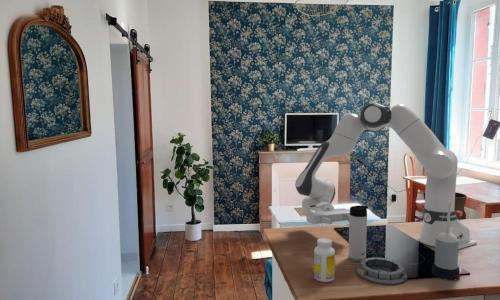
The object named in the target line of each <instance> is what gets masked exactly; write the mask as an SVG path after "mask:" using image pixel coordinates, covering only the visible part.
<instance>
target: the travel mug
mask: <svg viewBox="0 0 500 300" xmlns="http://www.w3.org/2000/svg"><path fill="white" fill-rule="evenodd" d="M349 209H350V216H349V222H348V223H349V225H348V227H349V228H348V259H349V260H350V261H352V260H353V262H358V263H361V261H362V260H364V259H366V258H367V233H368V229H367V228H368V209H369V206H368V205H353V206H350V208H349Z"/></svg>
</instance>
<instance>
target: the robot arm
mask: <svg viewBox="0 0 500 300" xmlns="http://www.w3.org/2000/svg"><path fill="white" fill-rule="evenodd" d="M386 127H388V128H391V129H392V130H393V131H394V132H395V133H396V135H397V136H398V137H399V138H400V139H401V140H402V141H403V142H404V144H405V145H406V147H408V149H410V151H411V152H412V154H413V155H414V156H415V158H416V159H417V160H418V162H419V163H420V165H421V166H422V167H423V169H424V170H425V171H426V182H425V183H426V184H425V188H424V189H425V190H424V194H425V195H424V207H423V209H422V216H423V218H422V219H423V220H422V224H421V230H420V233H419V237H418V240H419V241H420V243H422V244H424V245H427V246H431V247H435V244H436V237H437V235H438V234H440V233H442V232H445V231H446V228H447V214H448V205H449V201H450V202H451V213H450V229H449V230H450V232H451V233H452V234H454V235H455V236H456V237H457V239H458V242H459V246H458V250H461V249H464V248H467V247H470V246H474V245H477V241H476V240H475V239H473V238H471V233H470V229H469V227H468V226H467V225H465V224H464V223H463V222H462V221H461V220H460V221H459V220H458V218H457V215H458V216H461V217H462V216H463V213H464V212H463V213H462V212H461V211H455V210H454V206H455V192H456V188H457V187H456V186H457V174H458V157H457V155H456V154H455V152H453V151H452V150H451V149H448V148H446V147H445V146H444V145H443V143H442V142H441V141H440V139H438V137H437V136H436V135H435V133H434V132H433V131H432V130H431V128H429V126H428V125H427V124H426V123H425V122H424V121H423V120H422V119H421V118H420V117H419V116H418V115H417V114H416V113H415V111H413V110H412V109H411V108H410V107H408V106H406V105H405V104H402V103H399V104H395V105H393V106H391V107H390V106H386V105H383V104H381V103H376V102H371V103H367V104H366V105H364V107H362V109H361V111H360V113H359V114H356V113H351V112H350V113H345V114H343V115H342V117H341V118H340V120H339V121H338V123H337V125H336V127H335V129H334V131H333V132H332V135H331V137H330V138H329V139H328V140H326V141H323V142H322V143H321V144H320V145H319V146H318V148H317V149H316V151H315V152H314V154H313V155H312V157H311V158H310V159H309V162H308V163H307V165H306V166H305V168H304V170H302V172H301V173H300V174H299V176H297V178H296V180H295V183H294V184H295V189H296V191H297V192H298V194H299V195H301V196H305V197H304V198H303V199H302V202H301V207H302V211H304V213H306V214H305V215H306V216H305V219H306V222H309V224H312V225H317V224H328V225H333V223H336V222H337V223H338V222H348V223H349V216H350V208H346V207H344V208H343V207H342V208H341V207H340V208H335V207H334V205H332V203H333V201H334V199H335V196H336V187H335V184H334V183H333V182H332V181H329V180H327V179H324V178H322V177H319V176H316V173H317V172H318V171H319V168H320V167H321V165H322V164H323V162H324V161H326V160H327V159H328V158H332V157H333V158H334V157H336V158H337V157H344V156H345V157H346V156H348V155H349V154H351V153H352V152H353V151H354V149H355V147H356V145H357V143H358V141H359V138H360V136H361V135H362V133H363V132H370V133H371V132H373V133H376V132H377V133H378V132H380V131H382V130H384V128H386ZM443 209H444V212H443ZM443 215H444V216H443ZM442 217H443V221H442ZM442 226H443V231H442Z"/></svg>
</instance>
